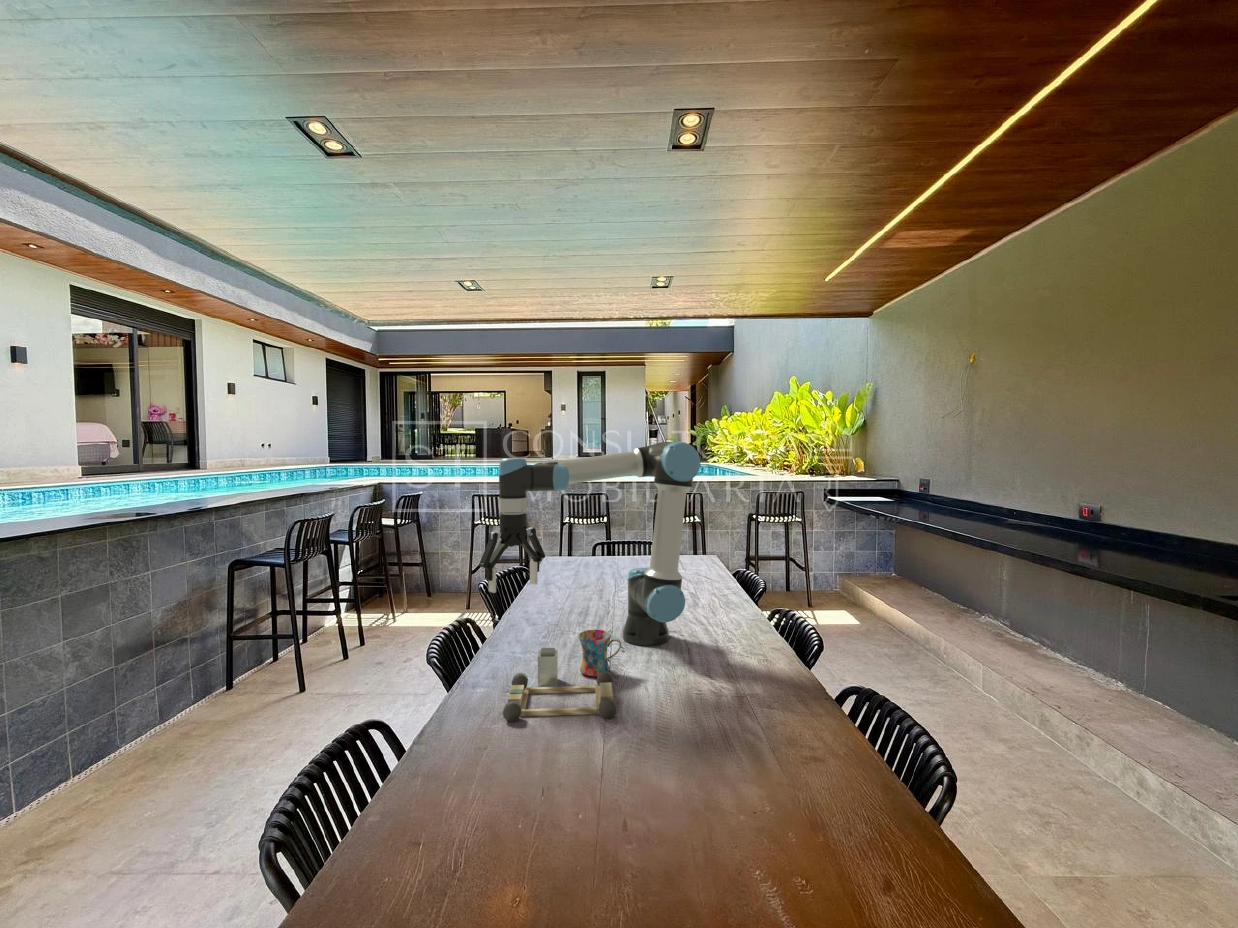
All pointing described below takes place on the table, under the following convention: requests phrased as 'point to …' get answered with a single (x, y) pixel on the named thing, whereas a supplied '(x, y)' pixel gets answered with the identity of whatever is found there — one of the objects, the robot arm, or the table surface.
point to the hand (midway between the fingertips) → (513, 587)
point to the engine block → (547, 667)
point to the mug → (595, 651)
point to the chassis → (520, 692)
